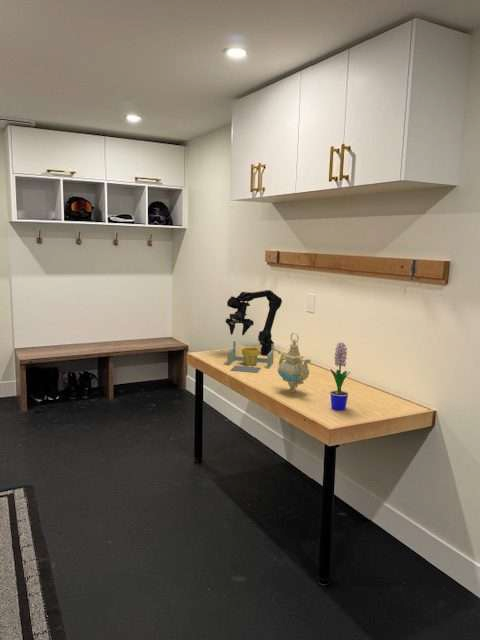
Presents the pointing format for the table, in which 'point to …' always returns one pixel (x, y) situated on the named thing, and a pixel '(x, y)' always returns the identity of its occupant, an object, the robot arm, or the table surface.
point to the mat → (246, 369)
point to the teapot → (293, 366)
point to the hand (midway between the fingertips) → (236, 335)
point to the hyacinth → (339, 379)
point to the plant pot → (250, 355)
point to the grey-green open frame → (232, 357)
